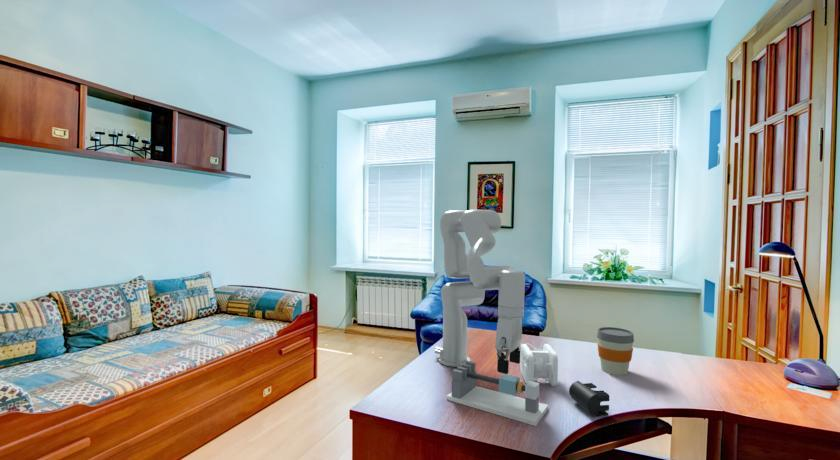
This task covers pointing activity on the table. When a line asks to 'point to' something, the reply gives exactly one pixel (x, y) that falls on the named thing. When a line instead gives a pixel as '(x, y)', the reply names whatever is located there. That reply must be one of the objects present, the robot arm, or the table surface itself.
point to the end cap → (589, 398)
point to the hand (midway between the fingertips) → (508, 367)
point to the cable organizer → (539, 364)
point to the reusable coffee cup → (615, 349)
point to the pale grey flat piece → (536, 348)
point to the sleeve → (508, 384)
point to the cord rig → (496, 396)
